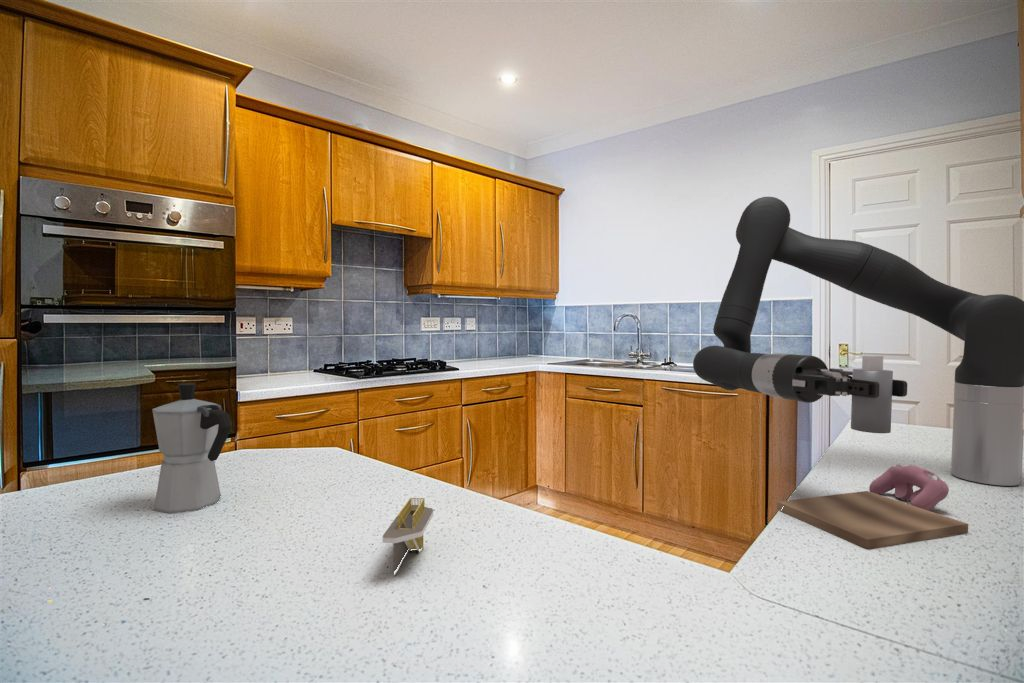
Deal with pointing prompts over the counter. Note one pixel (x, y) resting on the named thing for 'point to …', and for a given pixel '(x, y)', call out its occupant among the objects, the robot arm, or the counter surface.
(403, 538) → the platform
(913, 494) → the video game controller
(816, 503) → the walnut board
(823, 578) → the counter surface
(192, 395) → the coffee maker
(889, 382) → the grey cylinder with tab
